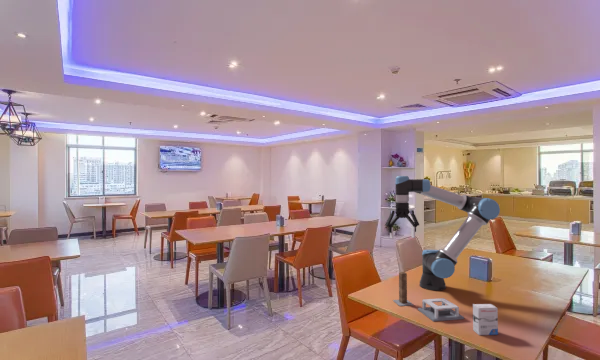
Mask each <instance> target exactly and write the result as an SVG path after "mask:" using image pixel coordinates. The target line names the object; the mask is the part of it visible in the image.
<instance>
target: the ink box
mask: <svg viewBox="0 0 600 360" xmlns="http://www.w3.org/2000/svg"><path fill="white" fill-rule="evenodd" d="M498 313H499V311H498V307H496V306H495V305H494V304H492V303H476V304H475V303H472V329H473V330H472V331H473V332H475V333H476V334H477V335H478V336H495V335H499V317H498V315H499V314H498Z"/></svg>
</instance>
